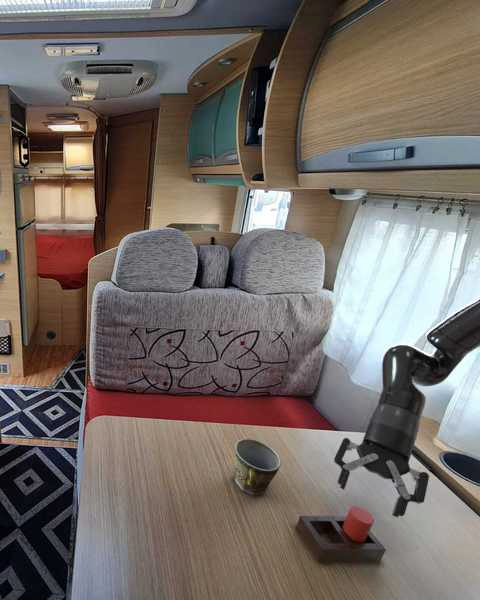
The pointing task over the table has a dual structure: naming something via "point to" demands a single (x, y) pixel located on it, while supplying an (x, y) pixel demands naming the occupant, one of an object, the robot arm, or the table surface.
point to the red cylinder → (357, 525)
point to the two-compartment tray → (337, 541)
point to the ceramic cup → (255, 465)
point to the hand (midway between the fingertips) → (367, 501)
